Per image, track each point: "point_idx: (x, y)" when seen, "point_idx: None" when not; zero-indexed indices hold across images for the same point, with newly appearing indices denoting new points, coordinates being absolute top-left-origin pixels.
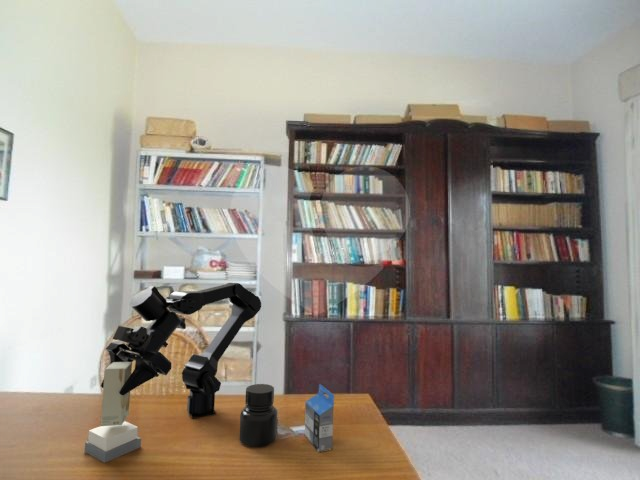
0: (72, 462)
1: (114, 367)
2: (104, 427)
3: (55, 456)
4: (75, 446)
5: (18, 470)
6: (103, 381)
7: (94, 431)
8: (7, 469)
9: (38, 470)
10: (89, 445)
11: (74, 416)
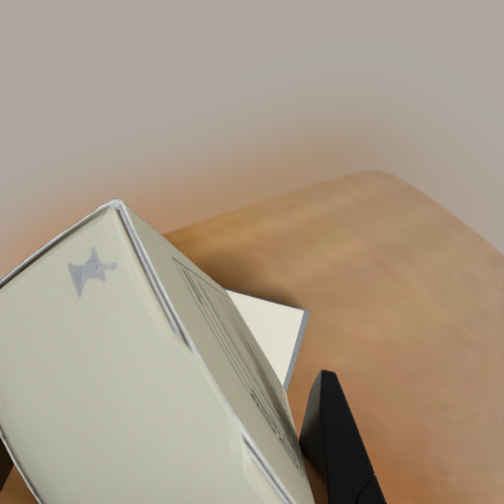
0: (284, 253)
1: (51, 310)
2: (267, 351)
3: (359, 261)
4: (360, 325)
5: (373, 183)
6: (332, 396)
7: (275, 311)
8: (399, 180)
9: (330, 197)
10: (282, 304)
11: (501, 441)
